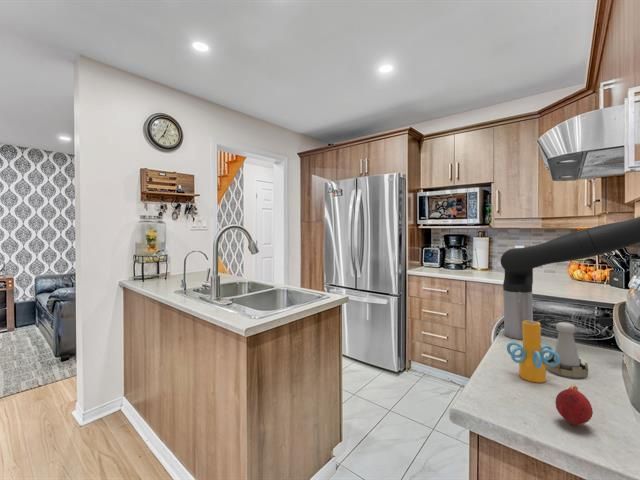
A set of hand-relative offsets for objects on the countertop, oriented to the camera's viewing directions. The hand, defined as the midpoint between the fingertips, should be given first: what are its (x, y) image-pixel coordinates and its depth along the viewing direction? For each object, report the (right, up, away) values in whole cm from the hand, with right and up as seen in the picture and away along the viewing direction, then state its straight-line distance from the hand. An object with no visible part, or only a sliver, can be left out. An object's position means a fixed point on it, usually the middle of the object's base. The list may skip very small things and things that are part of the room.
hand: (610, 325), depth 85 cm
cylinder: (-23, -14, -2) cm, 27 cm away
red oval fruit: (-29, -14, -23) cm, 39 cm away
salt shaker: (-11, -13, +1) cm, 17 cm away
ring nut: (-11, -13, +1) cm, 17 cm away
